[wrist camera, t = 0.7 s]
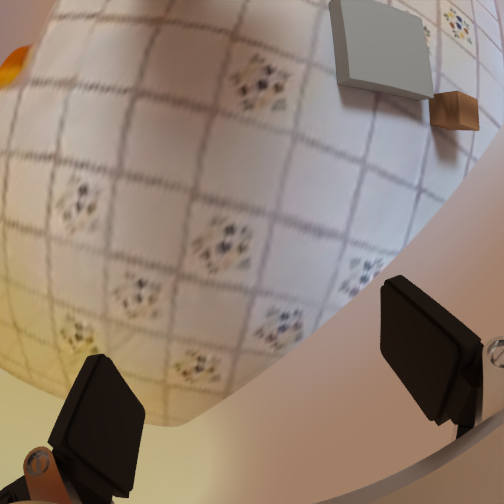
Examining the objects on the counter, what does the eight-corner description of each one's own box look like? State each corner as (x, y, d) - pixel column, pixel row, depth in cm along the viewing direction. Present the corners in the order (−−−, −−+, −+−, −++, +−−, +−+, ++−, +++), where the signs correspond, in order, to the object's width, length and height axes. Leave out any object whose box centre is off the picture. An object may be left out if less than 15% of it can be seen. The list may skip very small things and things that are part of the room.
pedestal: (328, 3, 27) (338, -9, 23) (407, 25, 28) (421, 18, 24) (337, 84, 31) (349, 78, 28) (417, 100, 33) (433, 98, 29)
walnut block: (428, 95, 32) (457, 90, 26) (448, 101, 33) (477, 99, 26) (429, 124, 34) (460, 124, 28) (449, 129, 35) (479, 130, 28)
